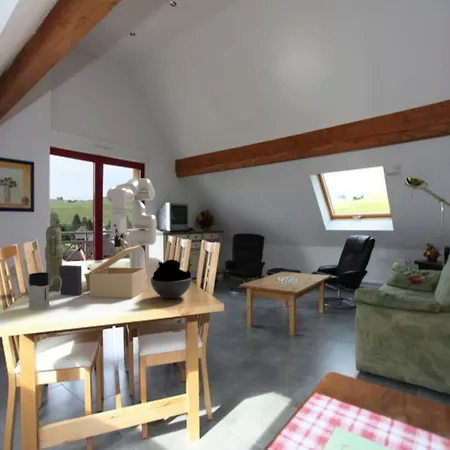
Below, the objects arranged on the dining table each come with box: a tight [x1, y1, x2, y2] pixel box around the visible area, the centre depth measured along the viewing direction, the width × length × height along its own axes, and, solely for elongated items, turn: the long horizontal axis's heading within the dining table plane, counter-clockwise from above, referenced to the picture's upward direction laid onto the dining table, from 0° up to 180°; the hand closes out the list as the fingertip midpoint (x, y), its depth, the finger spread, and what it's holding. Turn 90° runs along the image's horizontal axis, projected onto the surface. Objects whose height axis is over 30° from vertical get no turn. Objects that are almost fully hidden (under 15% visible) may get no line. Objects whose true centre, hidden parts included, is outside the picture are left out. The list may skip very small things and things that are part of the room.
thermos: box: [44, 226, 64, 292], centre depth 177 cm, size 9×12×35 cm
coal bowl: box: [150, 259, 192, 299], centre depth 158 cm, size 20×20×19 cm
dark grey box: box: [59, 264, 83, 297], centre depth 166 cm, size 11×4×15 cm, turn 74°
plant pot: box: [83, 272, 90, 291], centre depth 178 cm, size 9×9×9 cm
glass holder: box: [27, 271, 62, 311], centre depth 143 cm, size 9×14×15 cm, turn 94°
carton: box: [89, 266, 147, 299], centre depth 168 cm, size 20×22×12 cm
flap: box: [88, 238, 140, 274], centre depth 168 cm, size 20×22×9 cm
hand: (119, 246), depth 168 cm, fingers closed on flap, 4 cm apart
